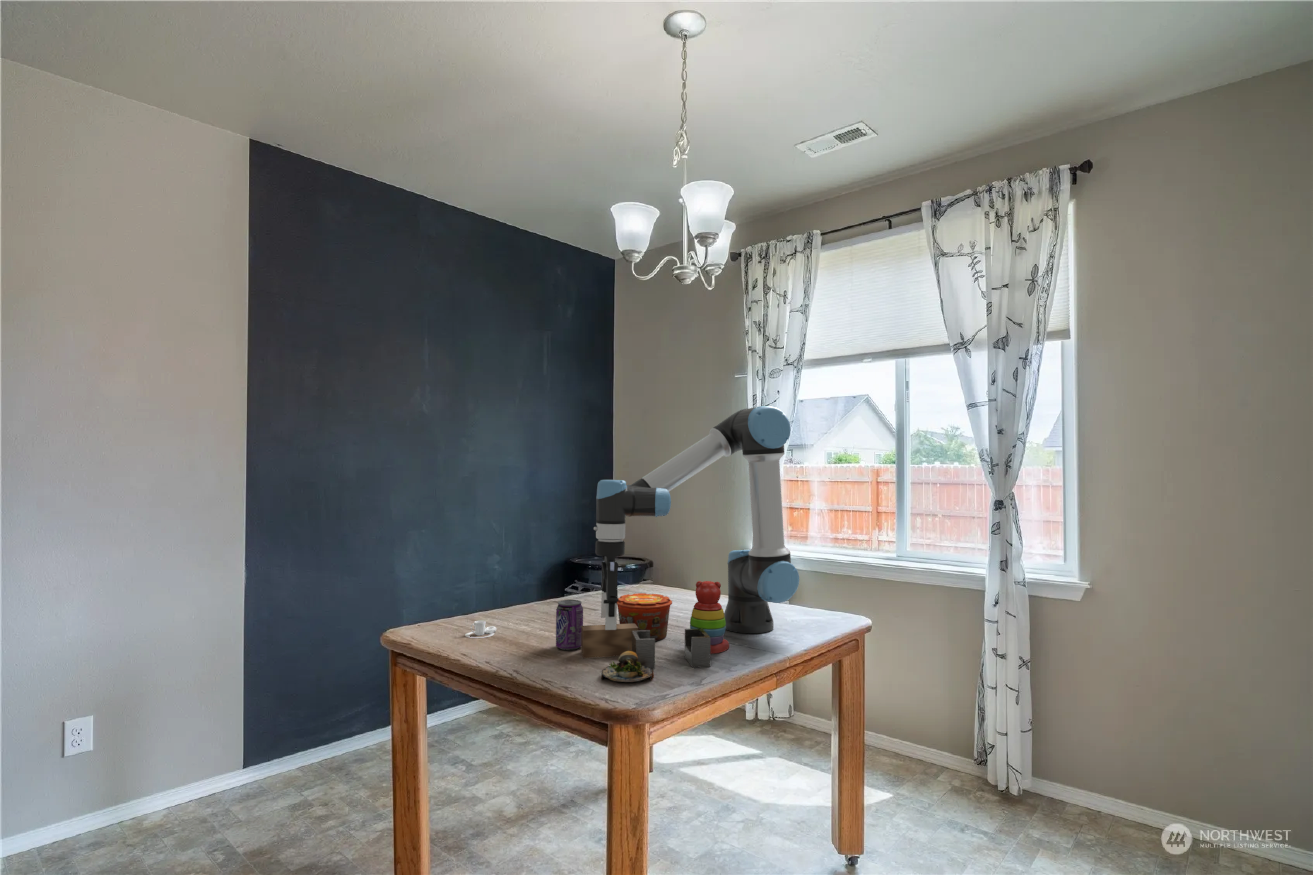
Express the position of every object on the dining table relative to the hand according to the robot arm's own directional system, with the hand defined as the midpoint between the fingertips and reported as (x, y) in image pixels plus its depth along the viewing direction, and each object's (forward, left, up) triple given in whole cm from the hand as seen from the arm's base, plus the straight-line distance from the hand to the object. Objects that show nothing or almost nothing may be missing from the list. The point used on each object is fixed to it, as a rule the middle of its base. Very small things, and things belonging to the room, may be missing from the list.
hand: (608, 623), depth 177 cm
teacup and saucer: (+32, -23, -8) cm, 40 cm away
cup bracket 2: (-21, +10, -8) cm, 24 cm away
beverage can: (+10, -7, -8) cm, 14 cm away
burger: (-3, +20, -8) cm, 22 cm away
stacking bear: (-26, -1, -8) cm, 28 cm away
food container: (-11, -16, -8) cm, 21 cm away
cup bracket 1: (-8, +10, -8) cm, 15 cm away
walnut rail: (0, 0, -8) cm, 8 cm away
